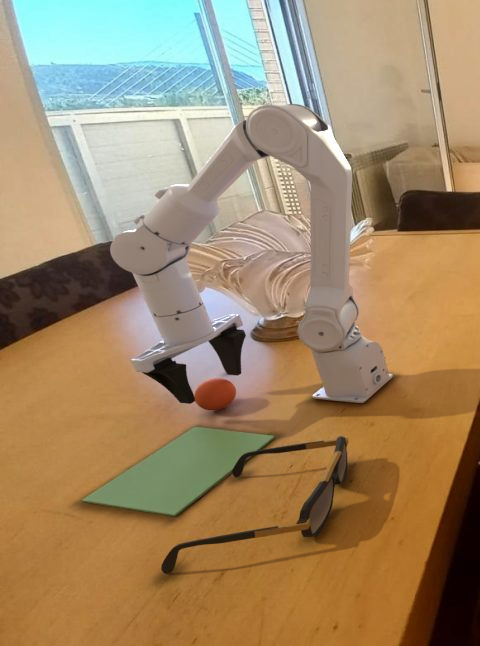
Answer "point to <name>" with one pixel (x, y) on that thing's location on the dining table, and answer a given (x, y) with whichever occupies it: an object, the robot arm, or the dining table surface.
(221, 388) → the egg
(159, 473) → the cloth
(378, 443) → the dining table surface
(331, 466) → the sunglasses
